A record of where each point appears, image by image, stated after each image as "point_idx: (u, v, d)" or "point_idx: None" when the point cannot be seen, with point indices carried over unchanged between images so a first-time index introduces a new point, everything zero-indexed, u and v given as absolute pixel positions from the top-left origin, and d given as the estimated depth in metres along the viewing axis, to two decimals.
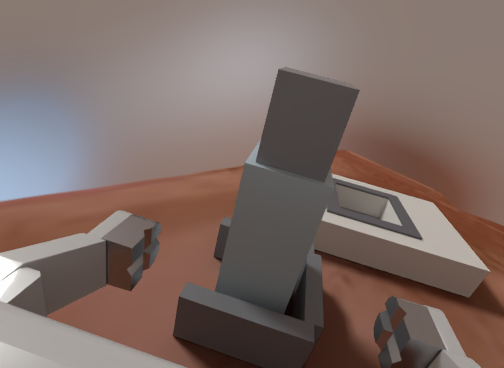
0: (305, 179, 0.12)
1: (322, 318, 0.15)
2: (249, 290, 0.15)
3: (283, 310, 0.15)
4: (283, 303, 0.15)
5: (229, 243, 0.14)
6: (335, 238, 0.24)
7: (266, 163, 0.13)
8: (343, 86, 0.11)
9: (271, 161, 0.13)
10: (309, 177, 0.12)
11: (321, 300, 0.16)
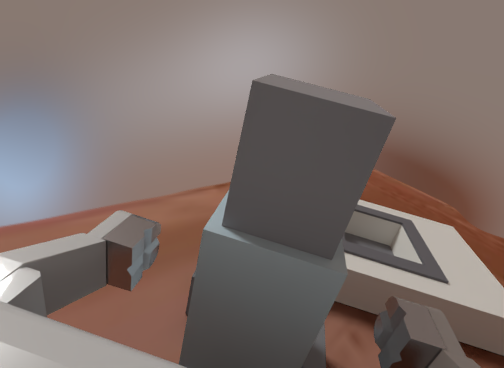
0: (301, 258, 0.08)
1: None
2: None
3: None
4: None
5: (188, 336, 0.10)
6: None
7: (238, 228, 0.08)
8: (366, 111, 0.06)
9: (246, 226, 0.08)
10: (307, 252, 0.08)
11: None
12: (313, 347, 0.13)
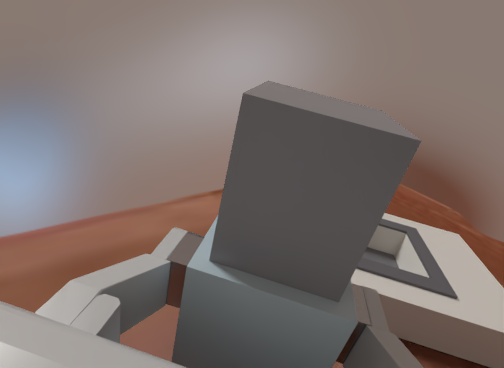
0: (302, 302, 0.06)
1: None
2: None
3: None
4: None
5: None
6: None
7: (228, 263, 0.07)
8: (384, 131, 0.05)
9: (238, 261, 0.07)
10: (309, 292, 0.07)
11: None
12: None
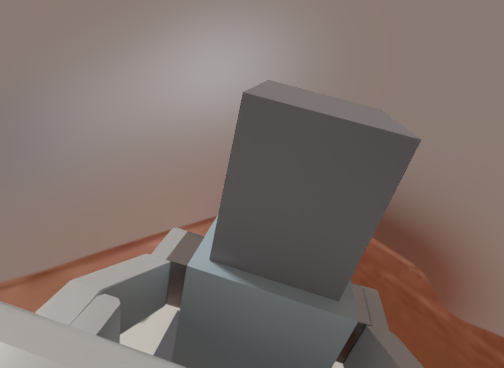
0: (302, 301, 0.06)
1: None
2: None
3: None
4: None
5: None
6: None
7: (228, 263, 0.07)
8: (383, 130, 0.05)
9: (238, 260, 0.07)
10: (309, 291, 0.07)
11: None
12: None
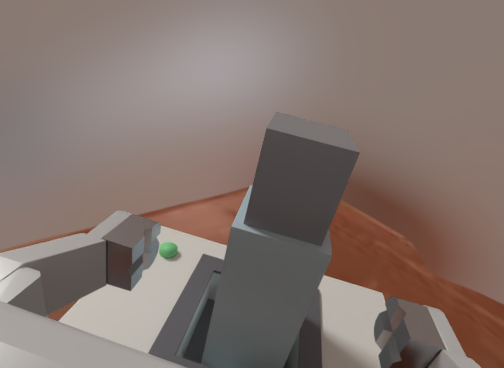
0: (299, 245, 0.11)
1: None
2: (240, 353, 0.14)
3: None
4: (278, 366, 0.14)
5: (217, 306, 0.13)
6: None
7: (255, 225, 0.11)
8: (341, 147, 0.09)
9: (261, 223, 0.11)
10: (303, 241, 0.11)
11: None
12: None
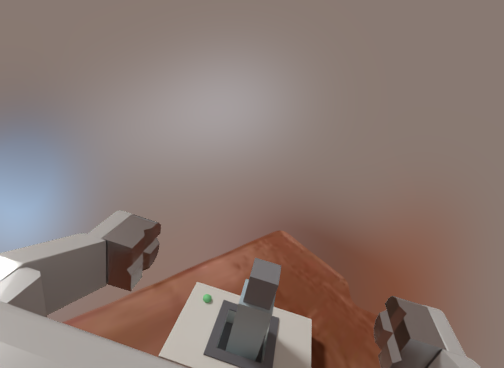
0: (261, 310, 0.32)
1: None
2: (241, 347, 0.35)
3: (256, 355, 0.35)
4: (256, 352, 0.35)
5: (232, 329, 0.34)
6: None
7: (246, 302, 0.32)
8: (273, 283, 0.31)
9: (248, 302, 0.32)
10: (263, 308, 0.32)
11: None
12: None
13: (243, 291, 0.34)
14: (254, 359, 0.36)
